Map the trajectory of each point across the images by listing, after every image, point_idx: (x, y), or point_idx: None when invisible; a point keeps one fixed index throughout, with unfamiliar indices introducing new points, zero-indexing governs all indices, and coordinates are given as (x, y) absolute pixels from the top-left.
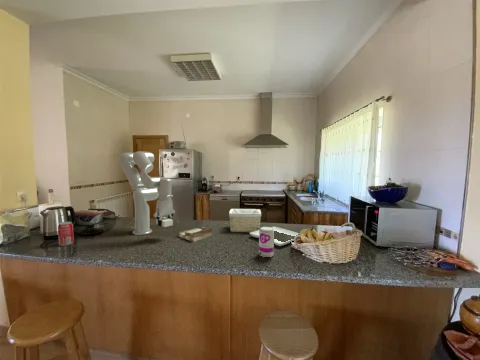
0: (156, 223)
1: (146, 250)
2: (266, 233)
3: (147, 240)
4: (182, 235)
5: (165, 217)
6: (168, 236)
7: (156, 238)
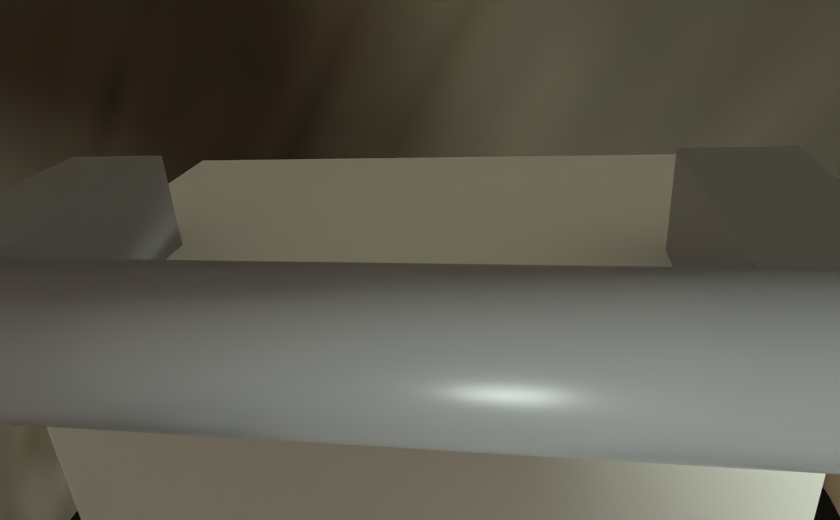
0: (196, 176)
1: (27, 445)
2: None
3: (177, 7)
4: (832, 489)
5: (789, 481)
6: (696, 120)
7: (396, 31)
